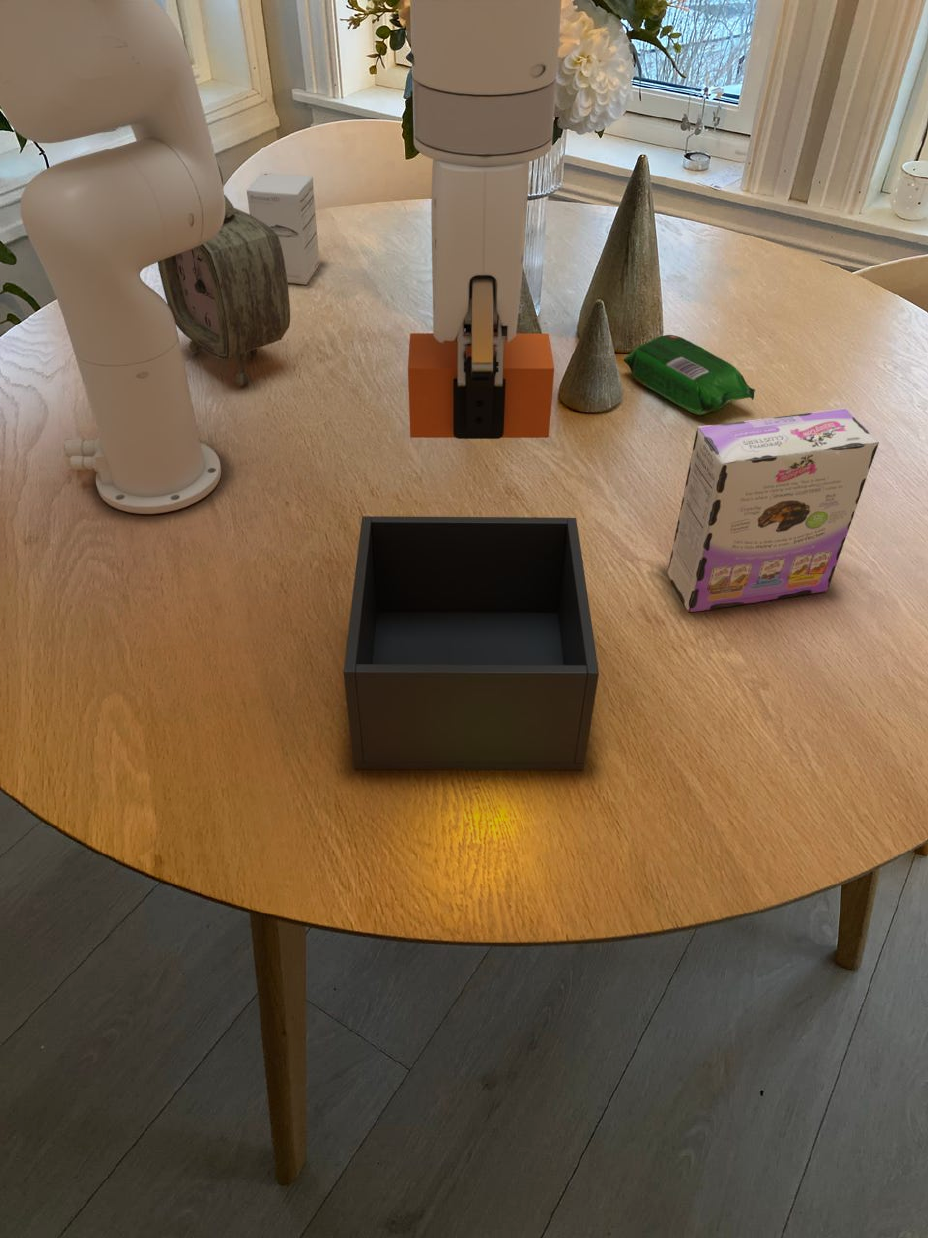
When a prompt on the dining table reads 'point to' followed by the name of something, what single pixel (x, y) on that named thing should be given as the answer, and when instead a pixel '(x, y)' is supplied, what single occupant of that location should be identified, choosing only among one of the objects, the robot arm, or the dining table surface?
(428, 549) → the open box bin
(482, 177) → the robot arm
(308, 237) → the white packaging box
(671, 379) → the snack package
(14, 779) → the dining table surface
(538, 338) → the orange rectangular block
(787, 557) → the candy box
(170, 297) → the tabletop clock
